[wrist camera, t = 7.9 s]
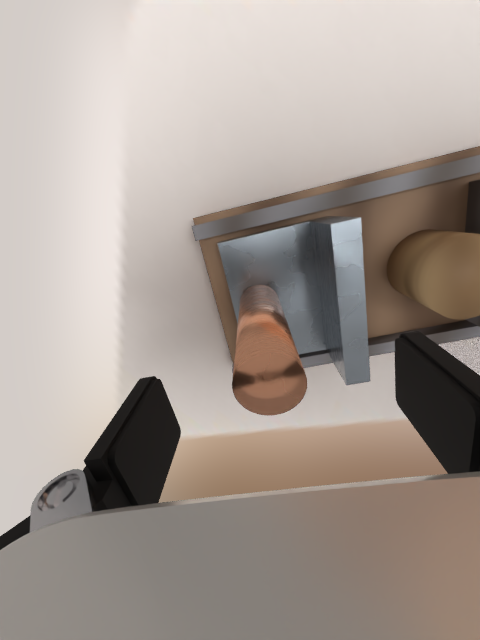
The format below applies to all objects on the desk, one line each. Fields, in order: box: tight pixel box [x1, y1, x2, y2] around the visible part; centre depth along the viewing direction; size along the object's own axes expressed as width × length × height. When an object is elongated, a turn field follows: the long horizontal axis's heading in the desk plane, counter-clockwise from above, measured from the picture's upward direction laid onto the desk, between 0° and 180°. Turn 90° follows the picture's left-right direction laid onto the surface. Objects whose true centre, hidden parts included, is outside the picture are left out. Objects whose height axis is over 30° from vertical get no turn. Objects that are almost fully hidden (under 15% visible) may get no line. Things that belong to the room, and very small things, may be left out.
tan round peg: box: [387, 229, 480, 319], centre depth 18 cm, size 5×5×5 cm
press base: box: [192, 146, 480, 371], centre depth 19 cm, size 22×14×8 cm, turn 103°
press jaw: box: [217, 216, 370, 415], centre depth 16 cm, size 8×10×12 cm
